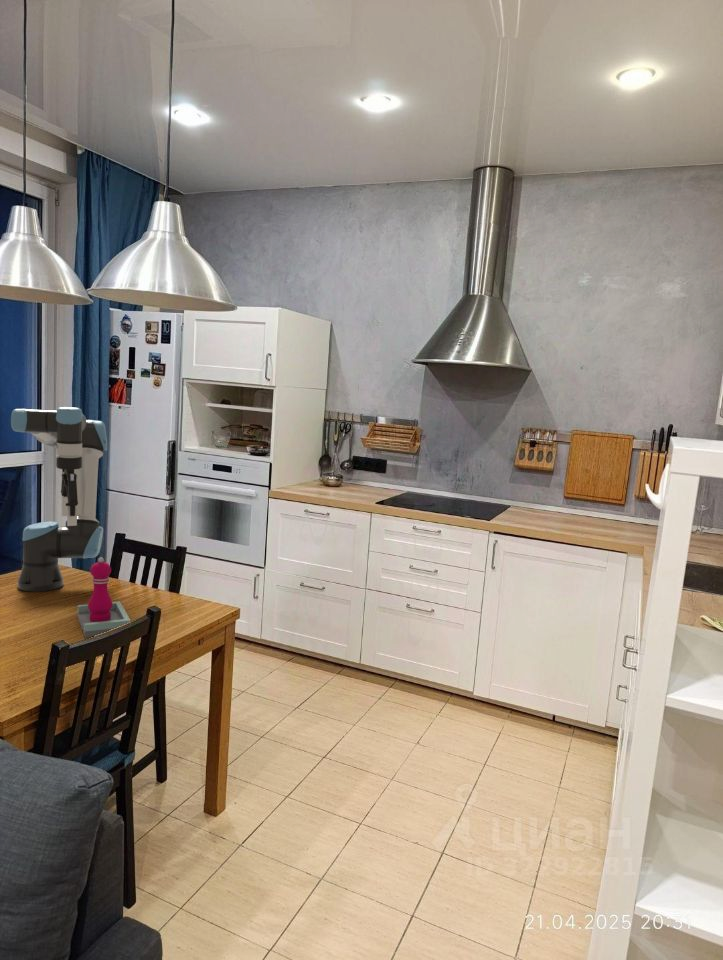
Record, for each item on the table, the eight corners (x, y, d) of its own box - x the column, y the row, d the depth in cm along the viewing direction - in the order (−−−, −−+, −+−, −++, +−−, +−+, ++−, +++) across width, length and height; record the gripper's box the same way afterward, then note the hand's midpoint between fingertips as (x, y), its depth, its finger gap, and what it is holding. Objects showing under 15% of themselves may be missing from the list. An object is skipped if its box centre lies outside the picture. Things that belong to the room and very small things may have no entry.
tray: (77, 617, 214) (77, 605, 213) (119, 612, 220) (119, 601, 220) (84, 637, 197) (85, 625, 197) (130, 632, 204) (130, 620, 203)
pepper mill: (87, 623, 204) (88, 560, 201) (87, 615, 210) (88, 554, 207) (112, 621, 206) (113, 559, 204) (111, 614, 213) (112, 554, 210)
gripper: (51, 450, 219) (52, 512, 223) (61, 462, 198) (61, 530, 202) (76, 450, 223) (75, 511, 227) (88, 461, 202) (87, 529, 206)
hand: (69, 520), depth 214 cm, fingers open, 13 cm apart
